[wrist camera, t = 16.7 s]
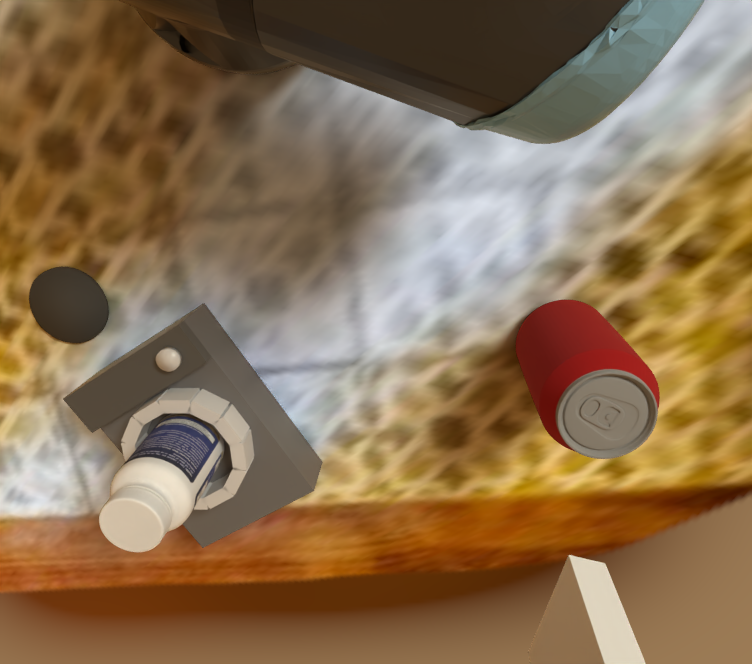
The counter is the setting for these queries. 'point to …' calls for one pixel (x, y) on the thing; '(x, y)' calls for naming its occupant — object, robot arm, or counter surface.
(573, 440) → the beverage can
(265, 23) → the robot arm
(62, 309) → the lens cap
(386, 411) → the counter surface
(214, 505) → the camera body
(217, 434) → the pill bottle
